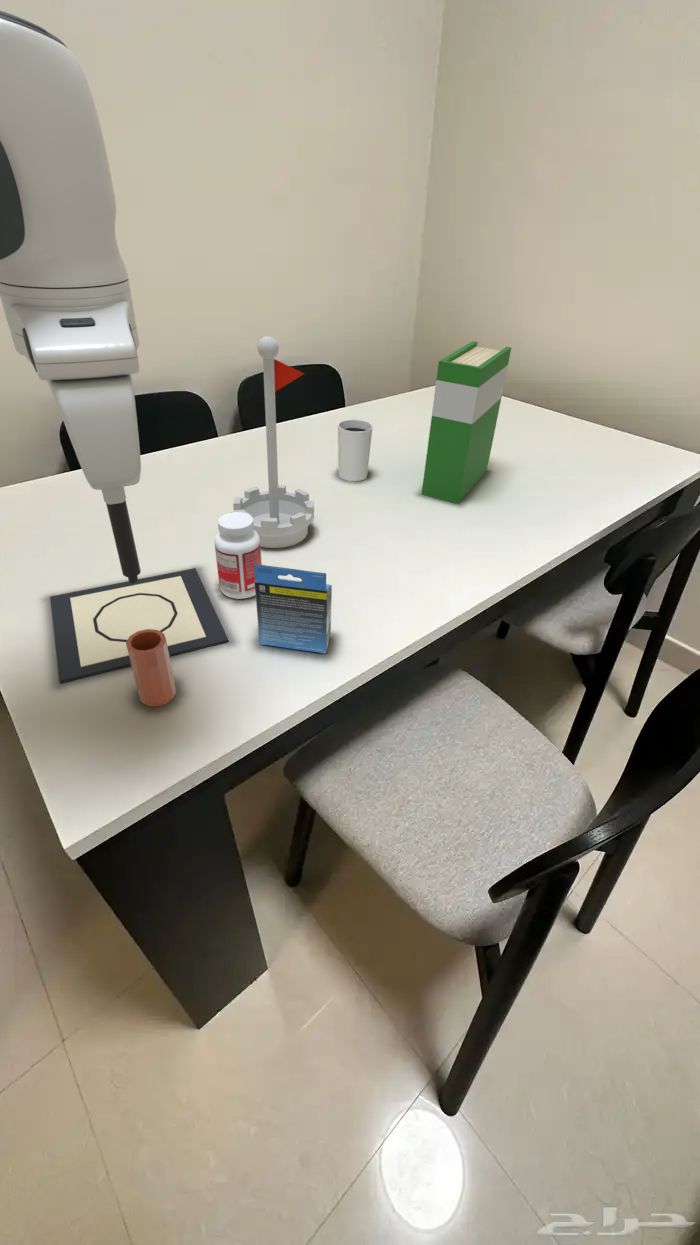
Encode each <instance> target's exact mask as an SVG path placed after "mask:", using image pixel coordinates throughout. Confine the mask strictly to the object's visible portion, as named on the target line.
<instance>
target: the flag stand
mask: <svg viewBox="0 0 700 1245" xmlns="http://www.w3.org/2000/svg"><path fill="white" fill-rule="evenodd" d="M256 346H257V347H256V348H257V352H258V354H259V356H260V357H261V358H262V365H263V366H262V368H263V392H264V413H265V433H266V434H265V435H266V436H265V437H266V459H267V480H268V490H267V491H260V488H258V486H254V487H253V486H252V487H250V488H246V489H245V490H244V491H243V492H244V495H243V496H244V497H242V496H241V497H240V496H235V498H234V499H233V502H232V506H233V512H243V513H247V514H249V515H251V516H252V518H253V522H254V529H253V530H255V531H256V532H257V533H258V535H259V538H260V547H261V548H268V549H281V548H288V547H292V546H295V545H297V544H299V543H301V542H303V541H304V540H305V539H306V538H307V537H308V533H309V526H310V525H311V523H312V522H313V521H314V517H315V500H310V493H309V492H307V491H306V490H304V489H301V488H298V489H295V491H294V492H291V491H287V485H283V484H279V474H278V472H279V471H278V468H279V467H278V444H277V443H278V441H277V440H278V439H277V436H278V435H277V412H276V411H277V410H276V408H277V407H276V406H277V405H276V392H277V391H279V390H280V389H282V388H284V387H285V386H287V385H288V384H290V383H292V382H294V381H295V380H297V379H299V378H300V377H302V376H303V375H305V373H304V372H302V371H300V370H298V369H296V368H294V367H292V366H290V365H287V364H286V363H284V362H282V361H279V360H277V359H275V358H276V357H277V356H278V354H279V350H280V349H279V342H278V341H277V340H276V339H275V338H274V337H272V336H269V335H265V336H263V337H261V338H260V339H259V340H258V342H257V345H256Z"/></svg>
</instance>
